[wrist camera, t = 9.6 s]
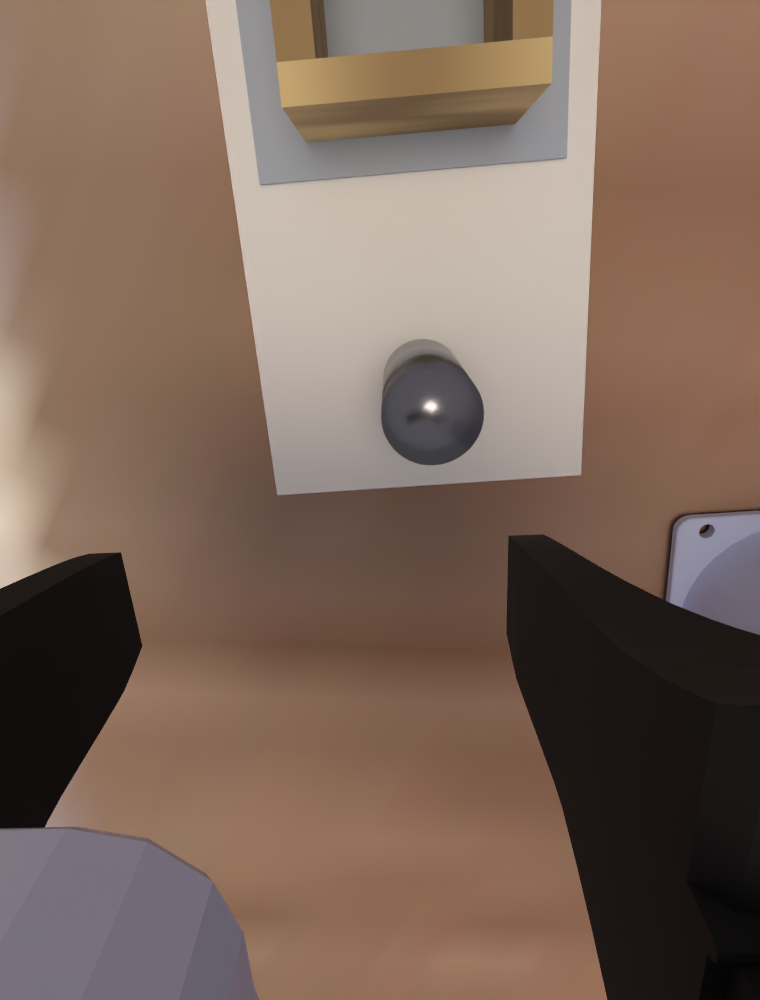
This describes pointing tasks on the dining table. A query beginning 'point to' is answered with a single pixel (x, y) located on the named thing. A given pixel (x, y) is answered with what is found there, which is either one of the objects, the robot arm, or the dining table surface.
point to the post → (429, 404)
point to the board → (413, 251)
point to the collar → (412, 75)
